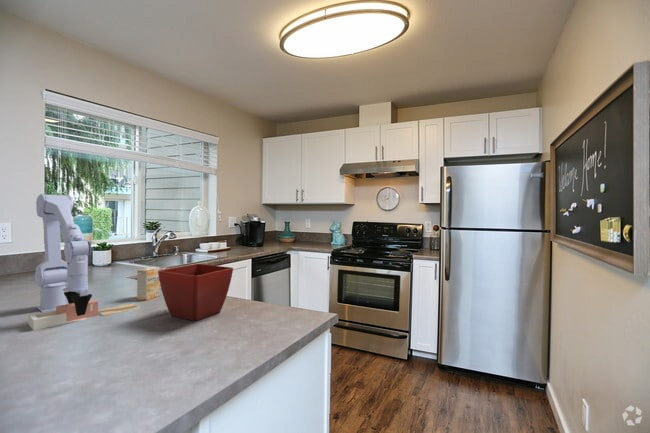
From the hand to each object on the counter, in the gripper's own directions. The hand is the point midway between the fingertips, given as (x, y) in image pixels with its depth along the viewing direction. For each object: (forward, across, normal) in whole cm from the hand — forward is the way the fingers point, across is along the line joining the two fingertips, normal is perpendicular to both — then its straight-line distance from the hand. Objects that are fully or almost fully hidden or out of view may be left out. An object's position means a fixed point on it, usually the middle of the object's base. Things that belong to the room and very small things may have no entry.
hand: (77, 313), depth 112 cm
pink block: (+2, 0, 0) cm, 2 cm away
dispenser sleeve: (+2, 0, -2) cm, 3 cm away
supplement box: (+2, -9, +28) cm, 29 cm away
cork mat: (+2, -1, +12) cm, 13 cm away
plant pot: (+2, +27, +30) cm, 40 cm away
